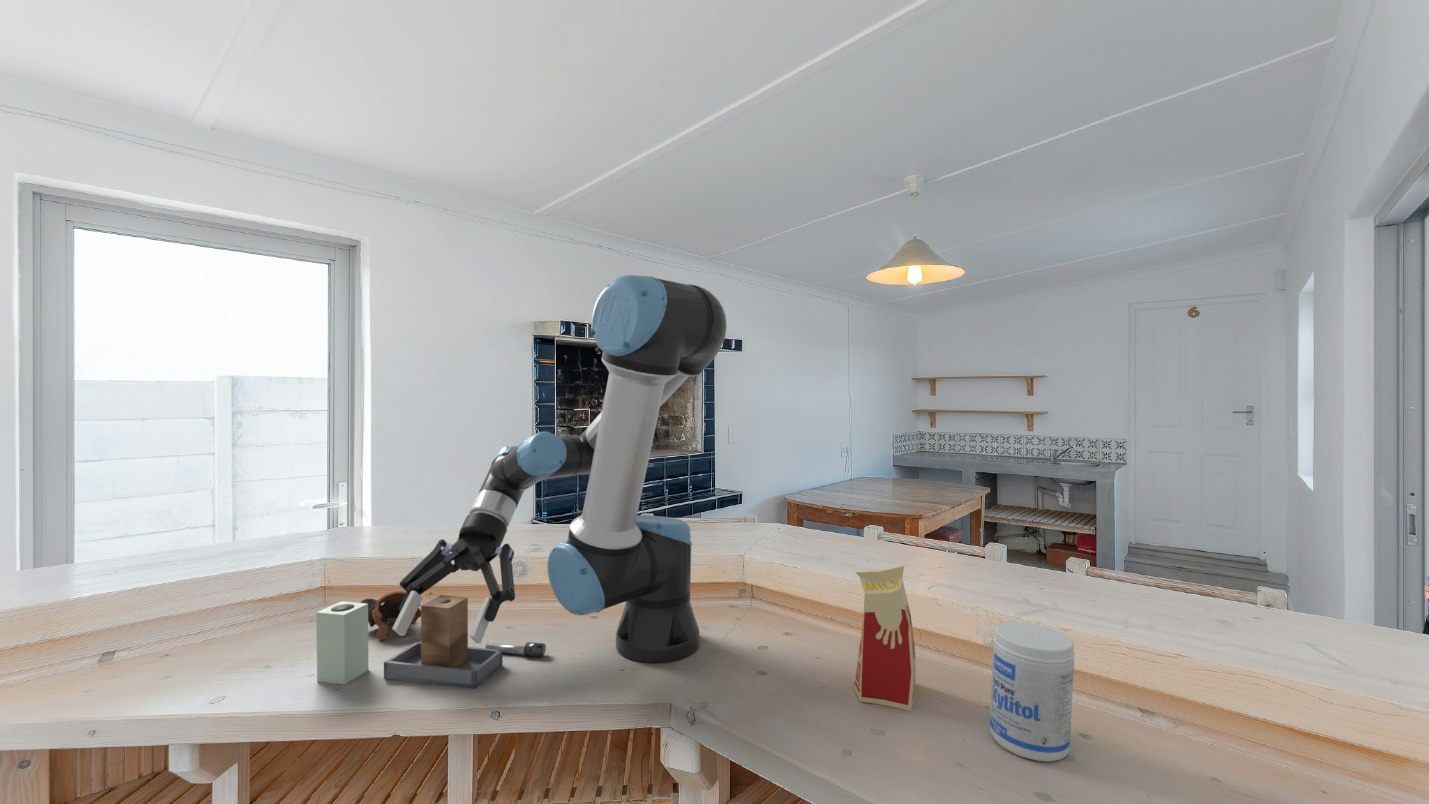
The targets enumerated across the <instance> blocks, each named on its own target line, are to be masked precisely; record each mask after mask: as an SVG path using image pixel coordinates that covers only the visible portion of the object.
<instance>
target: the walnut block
mask: <svg viewBox="0 0 1429 804" xmlns="http://www.w3.org/2000/svg"><path fill="white" fill-rule="evenodd" d="M468 599H469V598H468V597H467V596H457V595H454V596H453V595H443V594H440V595H438V596H436V597H434V598H433V599H431V600H429V601H427V602H425V603H423V604H421V605H420V610H421V617H420V642H421V664H422V665H431V666H440V667H449V668H459V669H460V668H462V667H463V666H464V665H466V664H467V663H468V647H469V643H468V642H469V632H468V630H469V629H468V628H469V627H468V626H469V622H468V621H469V619H468V617H469V615H468V614H469V611H468V610H469V609H468V607H469V605H468V603H469V601H468Z"/></svg>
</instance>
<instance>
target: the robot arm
mask: <svg viewBox="0 0 1429 804" xmlns="http://www.w3.org/2000/svg"><path fill="white" fill-rule="evenodd" d="M591 331H592V332H593V333H594V334H593V340H594V342H595V344H596V345H597V347H598V348H599V349H600V350H601V351H602V355H601V361H602V363H603V365H604V366H605V367H606V370H608V378H607V384H606V388H605V394H604V397H603V398H604V400H603V405H602V408H601V412H600V413H598V415H597V416H596V417H595V419H594V420H593V421H592V422H591V423H590V424H589V425H588V427H587V428H586V429H585V430H584V431H583V432H582V433H581V434H580V435H578V436H565V437H560V436H558V435H557V434H555V433H551V432H549V431H540V432H537V433H535V434H533V435H531V436H529V437H528V438H525V440H523V441H522V442H521V443H520V444H519V445H518V446H517V445H510V446H504V447H502V448H501V449H499V451H498V452H497V454H496V456H495V457H494V458H493V460H492V462H491V464H490V468H489V469H488V472H487V474H486V476H485V478H484V480H483V482H482V485H480V489H479V491H478V493H477V495H476V496H475V499H474V500H473V502H472V505H471V507H470V509H469V510H468V514H467V516H466V517H465V519H464V522H463V523H462V526H461V527H460V530H459V534H458V538H457V540H455V542H454V543H451V542H450V543H449V542H447V541H446V540H445V539H443V538H442V539H440V540H439V541H438V542H437V543H436V545H435V546H434V548H433V550H432V551H430V553H429V554H428V555H427V556H425V558H423V560H421V561H420V562H419V563H418V564H417V565H416V566H415V567H414V568H413V569H411V570H410V572H409V573H407V574H406V575H405V576H404V577H403V579H401V580H400V582H399V586H400V587H401V588H402V589H403V590H404V592H407V593H406V595H405V597H404V599H403V601H402V603H401V605H400V607H399V610H400V611H401V612H400V614H399V616H398V618H397V620H396V622H395V624H394V626H393V628H392V629H393V630H394V631H395V632H397V633H396V634H397V635H399V636H400V637H405V636H406V634H407V632H408V629H409V626H410V624H411V622H412V620H413V617H414V615H415V613H416V611H417V609H418V607H419V605H420V604H422V601H423V599H424V598H423V597H422V596H421V595H423V594H424V593H425V592H427V591H428V590H430V588H432V587H433V586H434V585H436V584H438V583H439V582H440V581H442V580H443V579H445V578H446V577H448V575H450V574H451V573H456V572H458V571H459V570H461V571H469V570H470V571H472V572H479V570H480V571H481V573H482V576H483V579H484V581H485V584H486V585H487V589H488V592H489V595H490V597H489V596H485V597H484V599H483V602H482V604H481V606H480V609H479V612H478V614H477V616H476V618H475V621H474V623H473V627H472V629H471V630H470V633H469V634H468V638H470V639H471V640H472V641H473V642H475V644H482V643H481V642H482V640H483V638H484V635H485V633H486V631H487V628H488V626H489V623H491V622H494V621H495V619H496V618H497V615H498V612H499V609H500V607H501V605H502V604H503V603H504V602H507V601H509V602H514V601H515V599H516V590H515V581H514V572H513V563H512V562H513V558H514V556H515V551H514V550H513V549H512V548H513V547H512V546H510V544H509V543H504V544H503V545H502V543H503V541H504V539H505V537H506V534H507V532H508V528H509V527H510V524H511V522H512V521H513V517H514V514H515V512H516V510H517V508H518V505H519V503H520V501H521V499H522V496H523V494H524V492H525V491H526V490H528V489H530V488H531V487H533V486H535V484H537V483H538V482H540V481H543V480H544V481H545V480H549V479H558V478H565V477H570V476H571V477H572V476H577V475H578V476H579V475H588V474H589V477H588V482H587V486H586V487H587V488H586V494H585V497H584V502H583V508H582V514H581V515H579V516H577V517H576V518H574V519H573V520H572V521H571V522H570V525H569V531H568V536H567V539H566V542H559V543H558V544H557V545H555V547H553V548H552V549H551V550H550V552H549V554H548V559H547V565H546V566H547V575H548V581H549V584H550V587H551V589H552V592H553V595H554V596H555V598H556V600H557V601H558V603H559V604H560V605H561V606H562V607H563V608H564V609H565V611H567V612H569V613H570V614H572V615H575V616H587V615H590V614H593V613H595V614H596V613H600V612H602V611H603V610H606V609H608V608H610V607H614V606H616V605H620V604H622V603H625V605H624V608H623V610H622V614H621V617H620V620H619V621H618V622H619V623H618V627H617V629H616V633H615V649H616V652H618V654H620V655H621V656H623V657H625V658H628V659H630V660H633V661H637V662H641V663H642V662H643V663H644V662H645V663H665V662H673V661H676V660H680V659H684V658H686V657H688V656H690V655H693V654H694V653H695V652H696V651H697V650H698V649H699V647H700V628H699V626H698V623H697V619H696V616H695V612H694V610H693V606H692V603H691V602H692V601H691V580H692V579H691V575H692V572H691V571H692V570H691V569H692V567H691V566H692V565H691V564H692V560H691V559H692V545H693V544H692V540H691V537H692V536H691V527H690V525H689V524H688V523H687V522H686V521H685V520H681V519H679V518H675V517H668V516H661V515H658V516H657V515H646V514H645V515H642V514H641V515H638V511H639V508H640V502H641V499H642V498H641V497H642V494H643V488H644V484H645V479H646V474H647V470H648V464H649V460H650V456H651V451H652V447H653V441H654V436H655V431H656V429H657V422H658V419H659V418H658V417H659V413H660V410H661V407H662V406H663V404H664V403H666V402H667V400H668V399H669V398H670V397H671V396H672V395H673V394H674V393H675V392H676V391H677V390H678V389H679V388H680V386H682V385H683V384H684V383H685V381H686V380H687V379H689V377H697V376H699V375H700V374H701V373H703V371H704V370H705V369H706V368H707V367H708V366H709V365H710V364H711V362H712V361H714V359H715V357H716V356H717V355H718V353H719V352H720V350H721V348H722V347H723V343H724V341H725V339H726V333H727V317H726V313H725V310H724V308H723V305H722V303H721V302H720V301H719V299H718V298H717V297H716V296H715V295H714V294H713V293H712V292H711V291H709V290H708V289H706V288H705V287H702V286H699V285H694V284H688V283H687V284H686V283H681V282H678V281H672V280H668V279H661V278H657V277H654V276H653V275H652V276H651V275H650V276H648V275H636V274H635V275H634V274H627V275H623V276H619V277H616V278H615V279H613V280H612V281H611V283H609V284H607V285H606V286H605V287H604V288H603V290H602V291H601V292H600V294H599V296H598V297H597V299H596V302H595V304H594V307H593V311H592V315H591ZM501 545H502V546H501ZM497 556H498V558H499V565H500V578H501V588H502V590H501V589H500V587H499V584H498V581H497V578H496V576H495V574H494V569H493V568H492V565H491V562H492V561H493V560H494V559H495V558H496V557H497ZM452 562H454V564H453V563H452ZM420 606H421V605H420ZM419 608H420V607H419ZM411 625H412V624H411Z"/></svg>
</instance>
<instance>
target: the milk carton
mask: <svg viewBox="0 0 1429 804" xmlns="http://www.w3.org/2000/svg"><path fill="white" fill-rule="evenodd" d="M904 570H905V565H900V566H896V567H892V568H891V567H890V568H885V569H882V570H874V571H873V570H871V571H855V574H856V575H857V576H858V577H859V580H860V582H861V587H862V591H863V593H864V599H863V601H864V602H863V618H862V625H861V626H862V627H861V633H860V640H859V646H858V647H859V649H858V657H857V665H856V673H855V677H854V678H855V680H854V684H853V689H854V691H855V694H856V696H857V698H858V700H859V702H861V703H868V704H873V705H874V704H875V705H882V706H887V707H891V708H894V709H900V710H902V711H903V710H904V711H908V712H912V710H913V709H912V707H913V703H914V699H915V692H916V691H915V690H916V646H915V640H914V639H915V638H914V630H913V622H912V614H911V609H910V606H909V602H908V598H907V593H906V589H905V584H904V580H903V575H904Z"/></svg>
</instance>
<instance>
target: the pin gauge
mask: <svg viewBox="0 0 1429 804" xmlns="http://www.w3.org/2000/svg"><path fill="white" fill-rule="evenodd" d="M484 648H486V649H496V650H503V654H508V655H510V654H511V655H518V656H519V655H520V656H527V657H535V658H536V657H537V658H543V657H544V656H545V653H546V649H547V647H546V643H542V642H533V641H527V642H526V643H525V644H524V646H523V645H513V644H503V643H493V642H487V643H486V645H485V647H484Z"/></svg>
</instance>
